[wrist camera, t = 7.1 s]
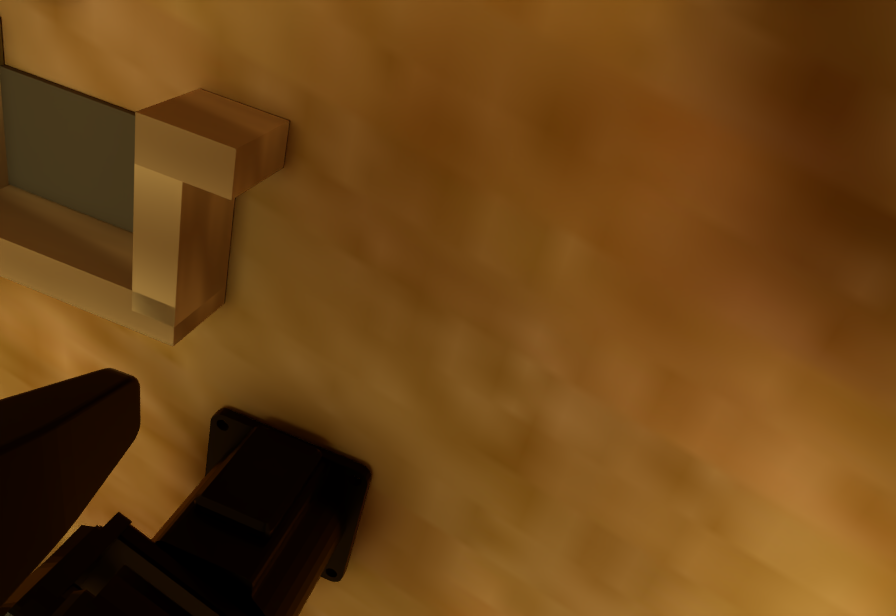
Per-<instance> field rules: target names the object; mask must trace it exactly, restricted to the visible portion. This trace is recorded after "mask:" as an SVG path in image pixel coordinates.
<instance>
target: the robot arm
mask: <svg viewBox="0 0 896 616" xmlns="http://www.w3.org/2000/svg"><path fill="white" fill-rule="evenodd" d="M224 421H225V422H226V423H225V422H224ZM139 428H140V384H139V382H138V380H137V378H135V377H134V376H132V375H129V374H126V373H124V372H121V371H118V370H116V369H112V368H106V369H101V370H98V371H94V372H91V373H88V374H84V375H81V376H78V377H74V378H71V379H68V380H64V381H61V382H58V383H54V384H51V385H48V386H44V387H41V388H38V389H34V390H31V391H28V392H24V393H21V394H18V395H14V396H11V397H8V398H4V399H1V400H0V616H299V614H300V612H301V610H302V608H303V607H304V605H305V603H306V601H307V599H308V598H309V596H310V594H311V592H312V590H313V589H314V587H315V585H316V583H317V581H318V580H319V578H320V577H323V578H325V579H327V580H330V581H333V582H338V581H340V580H341V579H342V577H343V575H344V574H345V572H346V569H347V566H348V562H349V558H350V555H351V551H352V547H353V544H354V540H355V536H356V533H357V529H358V526H359V522H360V518H361V515H362V511H363V507H364V504H365V500H366V496H367V493H368V489H369V485H370V482H371V473H370V470H369V469H368V468H367V467H366V466H364V465H362V464H360V463H358V462H355V461H353V460H350V459H348V458H345V457H343V456H341V455H338V454H336V453H333V452H331V451H329V450H326V449H324V448H321V447H319V446H317V445H314V444H312V443H309V442H307V441H304V440H302V439H300V438H297V437H295V436H292V435H290V434H288V433H285V432H283V431H280V430H278V429H275V428H273V427H271V426H268V425H266V424H263V423H261V422H259V421H256V420H254V419H251V418H249V417H247V416H244V415H242V414H239V413H237V412H234V411H232V410H230V409H226V408H223V409H220V410H218V411H217V412H216V413H215V414H214V415H213V417H212V418H211V423H210V433H209V443H208V454H207V464H206V474H205V478H204V479H203V480H202V481H201V482H200V483H199V485H198V486H197V487H196V488H195V489H194V490H193V492H192V493H191V494H190V495H189V496H188V497H187V499H186V500H185V501H184V502H183V503H182V504H181V506H180V507H179V508H178V509H177V510H176V511H175V513H174V514H173V515H172V516H171V517H170V518H169V520H168V521H167V522H166V523H165V524H164V525H163V527H162V528H161V529H160V530H159V531H158V532H157V534H156V535H155V536H154V537H153V538H152V539H149V538H148V537H147V536H145V535H144V534H143V533H141V532H140V531H139V530H137V529H136V528H135V527H133V526H132V525H131V523H132V521H131V520H129V519H128V518H127V517H125V516H124V515H123V514H121V513H120V512H118V513H117V514H116V515H115V516H114V517H113V518H112V519H111V520H110V521H109V522H108V523H107V524H106V525H105V526H104V527H102V526H100V527H99V526H98V525H97V526H95V527H92V526H85V525H81V526H80V527H79V528H78V529H77V530H76V531H75V532H74V533H73V534H72V535H71V536H70V537H69V538H68V539H67V540H66V541H65V543H64V544H63V545H62V546H61V547H60V548H59V549H58V550H57V551H56V552H55V553H54V554H52V555H51V556H50V557H49V558H48V559H47V560H46V561H45V562H44V563H43V564H42V565H41V566H40V567H38V568H37V569H36V570H35V571H34V572H33V570H34V569H35V568H36V567H37V566H38V565H39V564H40V563H41V562H42V560H43V559H44V558H45V557H46V556H47V555H48V554H49V553H50V551H51V550H52V549H53V548H54V547H55V546H56V545H57V543H58V542H59V541H60V540H61V539H62V538H63V536H64V535H65V534H66V533H67V532H68V530H69V529H70V528H71V526H72V525H73V524H74V522H75V521H76V520H77V519H78V517H79V516H80V515H81V513H82V512H83V510H84V509H85V508H86V506H87V505H88V503H89V502H90V501H91V499H92V498H93V497H94V495H95V494H96V492H97V491H98V490H99V488H100V487H101V486H102V484H103V483H104V481H105V480H106V479H107V477H108V476H109V475H110V473H111V472H112V470H113V469H114V468H115V466H116V465H117V464H118V462H119V461H120V459H121V458H122V457H123V455H124V454H125V452H126V451H127V450H128V448H129V447H130V446H131V444H132V443H133V441H134V440H135V438H136V436H137V434H138V431H139ZM354 475H355V476H357V477H359V478H360V479H359V478H357V477H355V476H354Z"/></svg>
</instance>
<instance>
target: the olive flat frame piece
mask: <svg viewBox="0 0 896 616" xmlns="http://www.w3.org/2000/svg"><path fill="white" fill-rule="evenodd" d="M0 65H4V59H3V46H2V34H1V21H0ZM289 122H290V121H288V120H286V119H283V118H280V117H277V116H274V115H272V114H269V113H266V112H263V111H261V110H258V109H255V108H252V107H249V106H247V105H244V104H241V103H238V102H236V101H233V100H230V99H227V98H224V97H222V96H219V95H216V94H213V93H210V92H208V91H205V90H202V89H197V90H194V91H192V92H189V93H186V94H183V95H181V96H178V97H175V98H172V99H170V100H167V101H164V102H161V103H159V104H156V105H153V106H150V107H148V108H145V109H142V110H139V111H137V112H135V163H134V217H133V232H130V231H128V230H125V229H122V228H120V227H117V226H115V225H112V224H110V223H107V222H104V221H102V220H99V219H97V218H94V217H92V216H89V215H86V214H84V213H81V212H79V211H76V210H74V209H71V208H69V207H66V206H63V205H61V204H58V203H56V202H53V201H51V200H48V199H45V198H43V197H40V196H38V195H35V194H33V193H30V192H27V191H25V190H22V189H20V188H17V187H15V186H12V185H10V184H9V182H8V170H7V158H6V145H5V133H4V121H3V109H2V97H1V84H0V276H1V277H4V278H6V279H9V280H11V281H14V282H16V283H18V284H21V285H23V286H26V287H28V288H31V289H33V290H36V291H38V292H41V293H43V294H45V295H48V296H50V297H53V298H55V299H58V300H60V301H63V302H65V303H68V304H70V305H72V306H75V307H77V308H80V309H82V310H85V311H87V312H90V313H92V314H95V315H97V316H99V317H102V318H104V319H107V320H109V321H112V322H114V323H117V324H119V325H122V326H124V327H126V328H129V329H131V330H134V331H136V332H139V333H141V334H144V335H146V336H149V337H151V338H153V339H156V340H158V341H161V342H163V343H166V344H168V345H171V346H174V345H175V344H177V343H178V342H179V341H180V340H181V339H182V338H184V337H185V336H186V335H187V334H188V333H190V332H191V331H192V330H193V329H194V328H196V327H197V326H198V325H199V324H200V323H201V322H203V321H204V320H205V319H206V318H207V317H209V316H210V315H211V314H212V313H213V312H215V311H216V310H217V309H218V308H219V307H220V306H222V305H223V304H224V301H225V291H226V281H227V271H228V261H229V252H230V242H231V232H232V222H233V212H234V202H235V198H236V197H237V196H239V195H240V194H242V193H244V192H245V191H247V190H248V189H250V188H251V187H253V186H255V185H256V184H258V183H259V182H261V181H263V180H264V179H266V178H267V177H269V176H270V175H272V174H274V173H275V172H277V171H278V170H280V169H282V168H283V166H284V159H285V152H286V144H287V137H288V130H289Z"/></svg>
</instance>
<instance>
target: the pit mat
mask: <svg viewBox="0 0 896 616" xmlns="http://www.w3.org/2000/svg"><path fill="white" fill-rule="evenodd" d="M0 84H1V97H2V109H3V121H4V133H5V145H6V158H7V170H8V182H9V184H10V185H12V186H15V187H17V188H20V189H22V190H25V191H27V192H30V193H33V194H35V195H38V196H40V197H43V198H45V199H48V200H51V201H53V202H56V203H58V204H61V205H63V206H66V207H69V208H71V209H74V210H76V211H79V212H81V213H84V214H86V215H89V216H92V217H94V218H97V219H99V220H102V221H104V222H107V223H110V224H112V225H115V226H117V227H120V228H122V229H125V230H128V231H130V232H133V217H134V163H135V113H134V112H131V111H129V110H126V109H123V108H121V107H118V106H115V105H112V104H110V103H107V102H104V101H101V100H99V99H96V98H93V97H91V96H88V95H85V94H82V93H80V92H77V91H74V90H72V89H69V88H66V87H63V86H61V85H58V84H55V83H53V82H50V81H47V80H44V79H42V78H39V77H36V76H34V75H31V74H28V73H25V72H23V71H20V70H17V69H14V68H12V67H9V66H6V65H0Z"/></svg>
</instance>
